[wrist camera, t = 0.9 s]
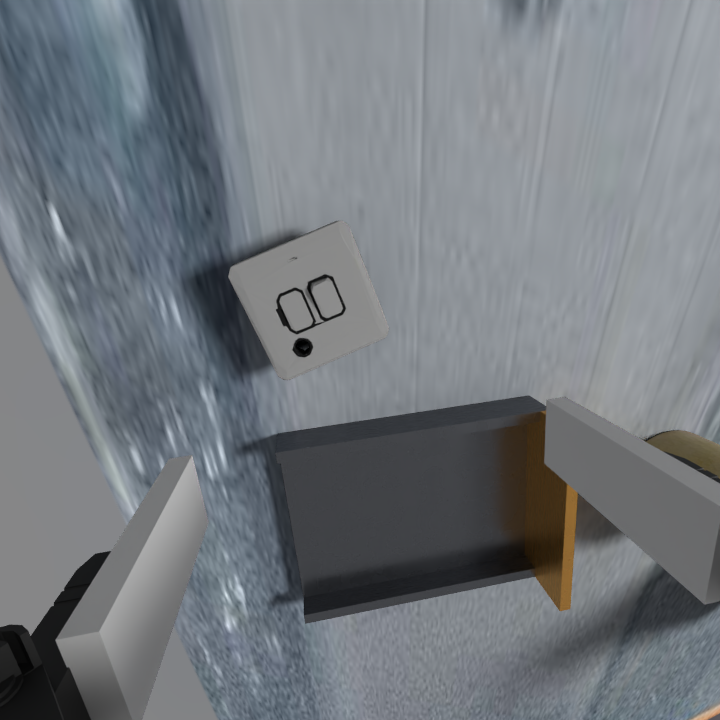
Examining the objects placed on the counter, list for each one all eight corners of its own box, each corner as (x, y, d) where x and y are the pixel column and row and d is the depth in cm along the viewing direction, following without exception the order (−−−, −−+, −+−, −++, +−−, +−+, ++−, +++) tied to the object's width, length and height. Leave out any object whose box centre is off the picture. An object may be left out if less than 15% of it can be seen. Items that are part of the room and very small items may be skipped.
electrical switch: (282, 387, 30) (221, 275, 26) (279, 358, 35) (227, 259, 31) (394, 338, 31) (352, 220, 26) (377, 316, 35) (339, 213, 31)
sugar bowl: (586, 539, 44) (723, 678, 30) (581, 453, 41) (732, 563, 27) (707, 503, 45) (894, 620, 31) (711, 417, 42) (923, 503, 28)
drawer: (277, 433, 36) (271, 480, 28) (529, 395, 38) (582, 429, 31) (305, 592, 41) (305, 666, 33) (525, 549, 43) (570, 608, 36)
